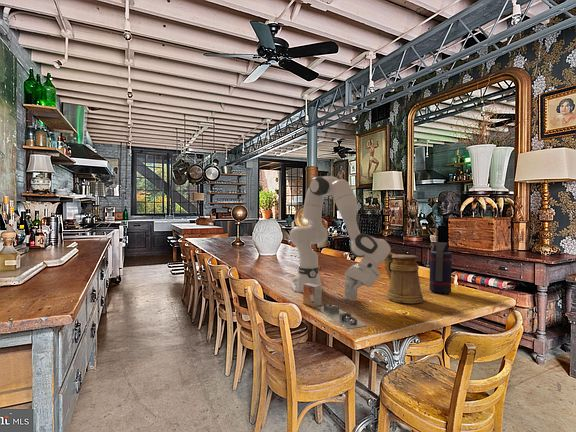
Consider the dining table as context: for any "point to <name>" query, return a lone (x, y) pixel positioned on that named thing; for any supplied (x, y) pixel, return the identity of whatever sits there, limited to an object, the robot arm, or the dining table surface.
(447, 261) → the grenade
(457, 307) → the dining table surface
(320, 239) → the robot arm
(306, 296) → the small box
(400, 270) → the tankard
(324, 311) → the grey long flat board
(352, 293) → the mini drawer chest
